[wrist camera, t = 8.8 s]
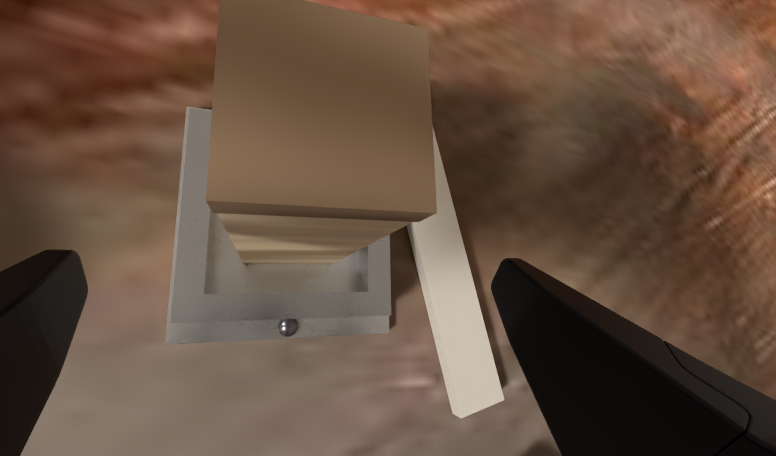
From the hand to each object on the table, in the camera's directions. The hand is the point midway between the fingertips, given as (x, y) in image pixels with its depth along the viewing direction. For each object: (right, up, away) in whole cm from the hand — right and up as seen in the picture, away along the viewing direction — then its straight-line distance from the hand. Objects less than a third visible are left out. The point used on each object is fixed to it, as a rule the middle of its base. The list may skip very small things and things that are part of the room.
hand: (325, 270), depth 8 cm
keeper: (-4, +1, +12) cm, 13 cm away
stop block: (-4, +1, +12) cm, 12 cm away
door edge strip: (+4, +1, +15) cm, 16 cm away
